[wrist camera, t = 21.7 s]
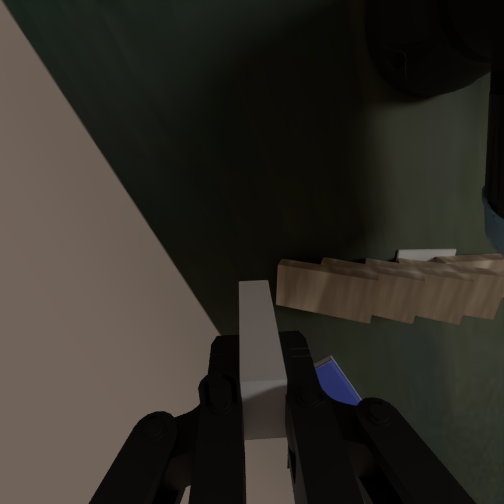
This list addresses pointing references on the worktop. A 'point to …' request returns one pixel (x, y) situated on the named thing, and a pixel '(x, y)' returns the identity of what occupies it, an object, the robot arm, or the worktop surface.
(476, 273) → the domino
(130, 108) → the worktop surface
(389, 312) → the domino
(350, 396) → the hard drive
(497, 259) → the domino
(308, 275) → the domino
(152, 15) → the worktop surface
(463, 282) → the domino
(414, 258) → the end pad
